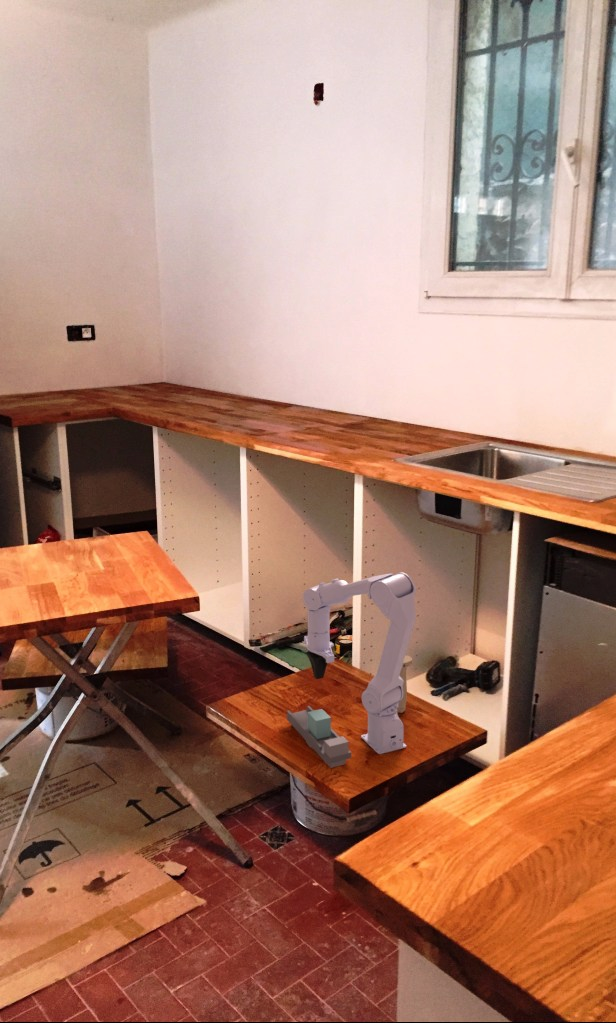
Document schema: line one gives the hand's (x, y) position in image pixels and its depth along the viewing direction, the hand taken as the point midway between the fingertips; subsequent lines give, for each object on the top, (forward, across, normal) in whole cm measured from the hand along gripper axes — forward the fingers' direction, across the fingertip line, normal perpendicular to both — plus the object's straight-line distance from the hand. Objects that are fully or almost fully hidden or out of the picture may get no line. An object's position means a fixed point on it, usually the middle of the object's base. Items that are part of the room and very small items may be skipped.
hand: (318, 677), depth 226 cm
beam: (+10, -14, +7) cm, 19 cm away
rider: (+7, -15, +7) cm, 18 cm away
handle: (+11, -8, -20) cm, 24 cm away
